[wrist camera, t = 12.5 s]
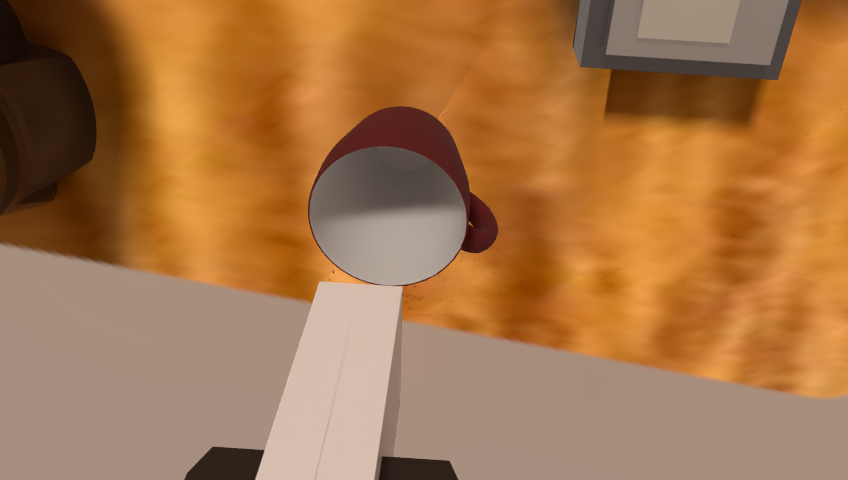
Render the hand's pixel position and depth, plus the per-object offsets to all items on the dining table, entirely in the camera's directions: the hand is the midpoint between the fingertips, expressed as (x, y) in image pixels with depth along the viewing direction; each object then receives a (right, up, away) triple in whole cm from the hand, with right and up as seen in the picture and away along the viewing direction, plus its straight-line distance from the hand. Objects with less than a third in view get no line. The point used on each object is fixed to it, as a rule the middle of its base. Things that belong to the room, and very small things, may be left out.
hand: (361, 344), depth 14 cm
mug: (+1, +8, +32) cm, 33 cm away
